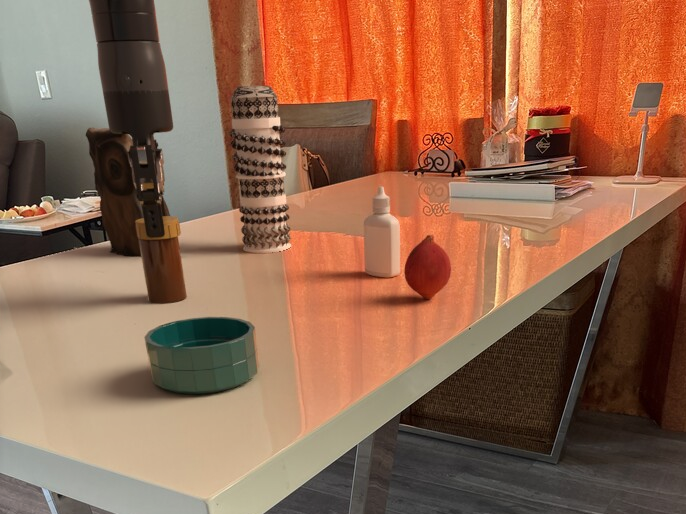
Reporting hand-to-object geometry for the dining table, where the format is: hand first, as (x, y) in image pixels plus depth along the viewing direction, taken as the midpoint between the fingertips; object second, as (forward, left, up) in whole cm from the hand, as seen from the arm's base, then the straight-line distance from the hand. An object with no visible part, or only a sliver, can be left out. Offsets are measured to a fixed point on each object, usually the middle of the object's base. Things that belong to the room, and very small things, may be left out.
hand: (157, 231), depth 92 cm
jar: (0, 0, -9) cm, 9 cm away
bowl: (+10, -31, -9) cm, 34 cm away
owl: (-12, +37, -9) cm, 40 cm away
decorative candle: (+10, +34, -9) cm, 36 cm away
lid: (0, 0, +1) cm, 1 cm away
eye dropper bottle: (+29, +10, -9) cm, 32 cm away
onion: (+34, -5, -9) cm, 36 cm away
